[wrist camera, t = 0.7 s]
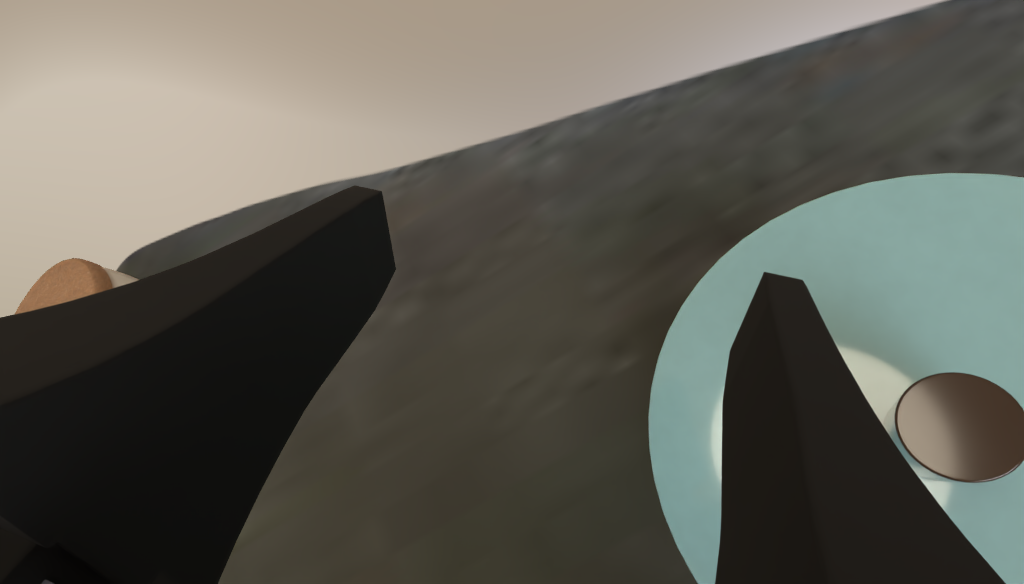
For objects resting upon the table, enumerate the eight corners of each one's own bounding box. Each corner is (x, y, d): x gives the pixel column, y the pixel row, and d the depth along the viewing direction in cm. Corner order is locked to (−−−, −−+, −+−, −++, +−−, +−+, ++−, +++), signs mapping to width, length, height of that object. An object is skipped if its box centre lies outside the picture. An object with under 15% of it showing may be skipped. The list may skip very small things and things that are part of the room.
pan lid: (1625, 806, 10) (2187, 1041, 6) (723, 760, 17) (686, 856, 13) (1137, 107, 16) (1244, -22, 12) (616, 274, 23) (566, 228, 19)
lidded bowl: (144, 306, 49) (-14, 267, 40) (237, 280, 44) (78, 228, 35) (114, 454, 45) (-69, 448, 36) (212, 446, 40) (26, 437, 31)
